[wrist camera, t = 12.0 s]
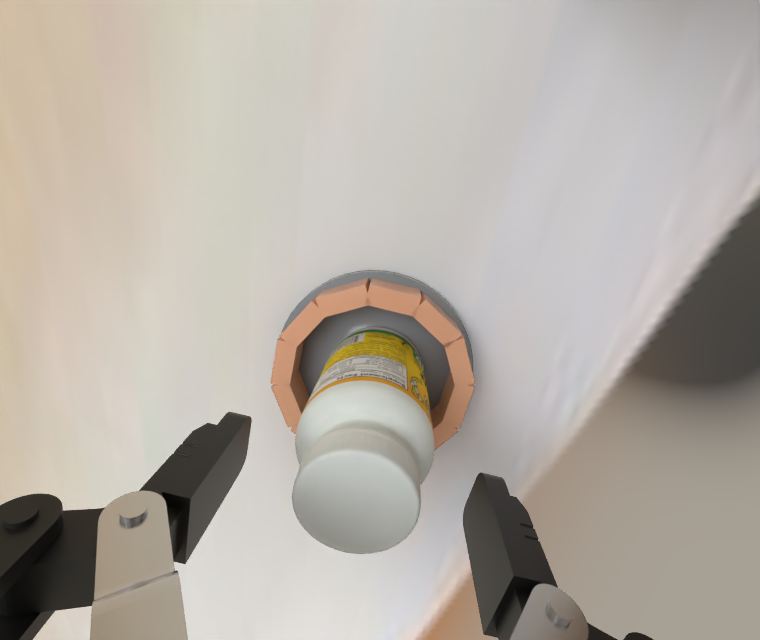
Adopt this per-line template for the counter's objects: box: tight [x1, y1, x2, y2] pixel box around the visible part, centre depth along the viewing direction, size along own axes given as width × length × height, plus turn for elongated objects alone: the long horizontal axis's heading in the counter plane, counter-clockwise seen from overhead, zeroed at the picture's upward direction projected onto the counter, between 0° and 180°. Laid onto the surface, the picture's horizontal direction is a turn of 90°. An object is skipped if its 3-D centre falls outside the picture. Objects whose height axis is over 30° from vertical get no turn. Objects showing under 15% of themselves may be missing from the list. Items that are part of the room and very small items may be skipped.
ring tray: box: [271, 270, 475, 450], centre depth 20 cm, size 11×11×3 cm
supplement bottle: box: [292, 327, 434, 554], centre depth 16 cm, size 5×5×10 cm
